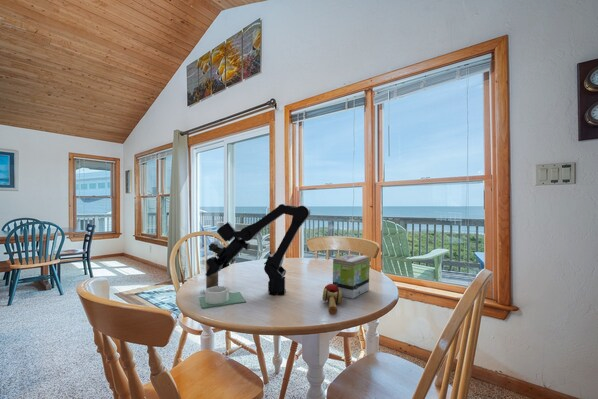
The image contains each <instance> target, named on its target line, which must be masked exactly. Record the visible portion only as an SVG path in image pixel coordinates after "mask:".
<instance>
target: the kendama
mask: <svg viewBox="0 0 598 399" xmlns="http://www.w3.org/2000/svg"><path fill="white" fill-rule="evenodd" d="M342 297H343V296H342V291H340V290H339V289H338V287H337V286H336V285H335V284H333V283H328V284H326V285H325V286H324V288H323V292H322V301H323V302H326V301H327V300H329V301H328V312H329V314H330V315H336V314H337V313H338V308H337V305H341V303H342Z"/></svg>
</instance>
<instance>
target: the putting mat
mask: <svg viewBox="0 0 598 399" xmlns="http://www.w3.org/2000/svg"><path fill="white" fill-rule="evenodd" d="M229 290H230V289H229V287H228V286H225V285H218V286H215V287H210V288H207V289H206V288H205V290H204V296H198V297H199V298H198V299H199V302H200V307H201V309H208V308H214V307H215V308H217V307H223V306H224V307H225V306H229V305H237V304H243V303H247V300H246V299H245V297H244V296H243V295H242V293H241V292H240V291H235V292H230V291H229Z"/></svg>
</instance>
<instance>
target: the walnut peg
mask: <svg viewBox="0 0 598 399" xmlns="http://www.w3.org/2000/svg"><path fill="white" fill-rule="evenodd" d="M208 259H209V258H207V259H206V261H207V260H208ZM206 261H205V263H206ZM205 265H206V266H205V272H206V273H207V271H208V269H209V265H208V264H207V263H206V264H205ZM206 273H205V274H206ZM205 278H206V279H205V281H206V282H205V283H206V284H205V290H206V289H207V288H210V287H215V286H219V272H216V273H214V274H212V275H209V276H206V275H205Z"/></svg>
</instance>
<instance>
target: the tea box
mask: <svg viewBox="0 0 598 399" xmlns="http://www.w3.org/2000/svg"><path fill="white" fill-rule="evenodd" d="M332 284H335V285H336V286H337V287H338V289H339V290H340V291H342V297H343V298H347V299H352V300H353V299H355V298H357V297H358V296H360V295H362V294H363V293H366V292H368V291H369V290H370V256H367V255H358V254H351V253H349V254H345V255H342V256H338V257H334V258H333V259H332ZM367 290H368V291H367Z"/></svg>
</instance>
